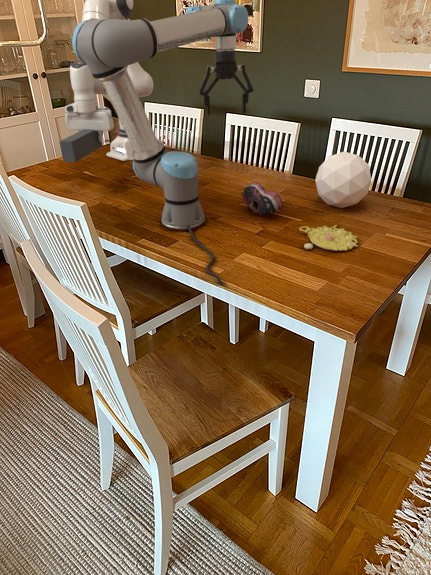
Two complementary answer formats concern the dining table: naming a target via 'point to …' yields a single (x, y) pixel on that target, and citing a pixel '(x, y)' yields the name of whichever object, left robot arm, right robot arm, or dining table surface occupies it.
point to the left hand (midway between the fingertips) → (92, 141)
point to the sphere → (343, 179)
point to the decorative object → (330, 238)
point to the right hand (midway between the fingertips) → (226, 113)
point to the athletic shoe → (261, 200)
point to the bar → (79, 145)
